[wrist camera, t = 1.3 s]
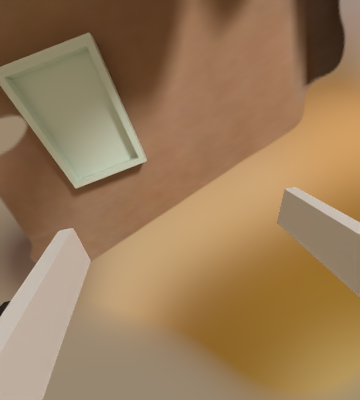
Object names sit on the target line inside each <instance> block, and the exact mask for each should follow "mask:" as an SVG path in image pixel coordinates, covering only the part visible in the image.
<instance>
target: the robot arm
mask: <svg viewBox="0 0 360 400" xmlns="http://www.w3.org/2000/svg"><path fill="white" fill-rule="evenodd" d="M277 223H278V224H279V225H280V226H281V227H282V228H283V229H284V230H285V231H287V232H288V233H289V234H290V235H291V236H292V237H293V238H294V239H295V240H297V241H298V242H299V243H300V244H301V245H302V246H303V247H304V248H305V249H307V250H308V251H309V252H310V253H311V254H312V255H313V256H314V257H315V258H317V259H318V260H319V261H320V262H321V263H322V264H324V266H325V267H327V268H328V269H329V270H330V271H331V272H332V273H333V274H334V275H336V276H337V277H338V278H339V279H340V280H341V281H342V282H343V283H345V285H347V286H348V287H349V288H350V289H351V290H352V291H353V292H354V293H356V294H357V295H358V296H359V297H360V222H358V221H356V220H354V219H352V218H350V217H349V216H347V215H345V214H343V213H341V212H340V211H338V210H336V209H334V208H332V207H331V206H329V205H327V204H325V203H323V202H322V201H320V200H318V199H316V198H314V197H312V196H311V195H309V194H307V193H305V192H303V191H301V190H300V189H298V188H296V187H294V188H289V189H285V191H284V194H283V199H282V203H281V207H280V212H279V216H278V220H277ZM90 262H91V261H90V259H89V257H88V255H87V253H86V251H85V249H84V248H83V246H82V244H81V242H80V240H79V238H78V236H77V234H76V233H75V231H74V229H73V228H70V229H65V230H59V231H58V233H57V234H56V236H55V237H54V239H53V240H52V241H51V243H50V244H49V246H48V247H47V249H46V250H45V252H44V253H43V255H42V256H41V258H40V259H39V261H38V262H37V263H36V265H35V266H34V268H33V269H32V271H31V273H30V274H29V275H28V277H27V278H26V280H25V281H24V283H23V284H22V285H21V287H20V288H19V290H18V291H17V293H16V294H15V296H14V297H13V299H12V300H11V301H8V302H4V303H3V304H2V305H1V306H0V400H43V397H44V394H45V391H46V388H47V385H48V382H49V380H50V377H51V374H52V371H53V368H54V365H55V362H56V359H57V356H58V354H59V351H60V348H61V345H62V342H63V339H64V336H65V334H66V330H67V328H68V325H69V322H70V319H71V316H72V313H73V310H74V308H75V304H76V302H77V299H78V296H79V293H80V290H81V287H82V284H83V282H84V279H85V276H86V273H87V270H88V267H89V264H90Z"/></svg>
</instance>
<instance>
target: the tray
mask: <svg viewBox="0 0 360 400" xmlns="http://www.w3.org/2000/svg"><path fill="white" fill-rule="evenodd" d="M0 86H1V87H2V89H3V90H4V92H5V93H6V94H7V96H8V97H9V98H10V100H11V101H12V102H13V104H14V105H15V107H16V108H17V109H18V111H19V112H20V113H21V115H22V116H23V117H24V119H25V120H26V122H27V123H28V124H29V126H30V127H31V128H32V130H33V131H34V132H35V134H36V135H37V137H38V138H39V139H40V141H41V142H42V143H43V145H44V146H45V147H46V149H47V150H48V152H49V153H50V154H51V156H52V157H53V158H54V160H55V161H56V162H57V164H58V165H59V167H60V168H61V169H62V171H63V172H64V173H65V175H66V176H67V177H68V179H69V180H70V182H71V183H72V184H73V186H74V187H75V188H79V187H81V186H84V185H87V184H89V183H92V182H94V181H97V180H99V179H102V178H105V177H107V176H110V175H112V174H115V173H118V172H120V171H123V170H125V169H128V168H130V167H133V166H136V165H138V164H141V163H143V162H146V161H147V158H146V155H145V153H144V151H143V148H142V146H141V144H140V142H139V139H138V137H137V135H136V133H135V130H134V128H133V126H132V123H131V121H130V119H129V117H128V114H127V112H126V110H125V108H124V105H123V103H122V101H121V98H120V96H119V94H118V92H117V89H116V87H115V85H114V83H113V80H112V78H111V76H110V73H109V71H108V69H107V67H106V64H105V62H104V60H103V58H102V55H101V53H100V51H99V49H98V46H97V44H96V42H95V40H94V38H93V37H92V35H91V34H90V33H89V32H88V33H86V34H83V35H81V36H78V37H75V38H73V39H70V40H68V41H65V42H63V43H60V44H57V45H55V46H52V47H50V48H47V49H44V50H42V51H39V52H37V53H34V54H32V55H29V56H26V57H24V58H21V59H19V60H16V61H14V62H11V63H8V64H6V65H3V66H1V67H0Z"/></svg>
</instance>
